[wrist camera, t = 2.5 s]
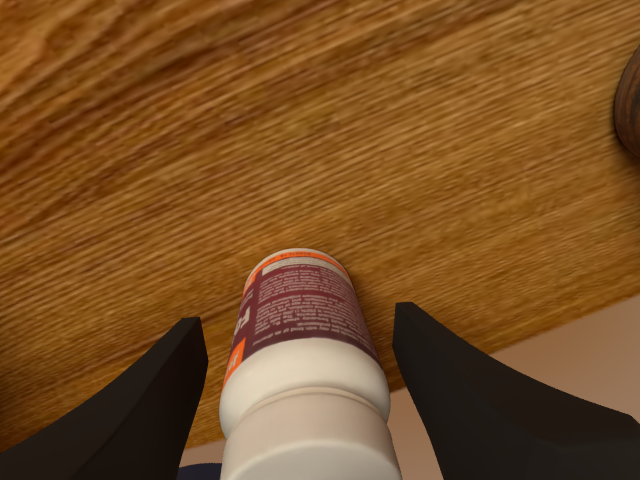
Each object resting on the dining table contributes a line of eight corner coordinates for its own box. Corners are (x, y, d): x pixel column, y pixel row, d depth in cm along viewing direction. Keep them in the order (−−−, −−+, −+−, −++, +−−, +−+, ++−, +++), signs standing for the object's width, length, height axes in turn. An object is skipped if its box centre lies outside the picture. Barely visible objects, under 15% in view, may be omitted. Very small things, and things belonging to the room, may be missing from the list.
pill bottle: (232, 255, 14) (162, 455, 6) (345, 236, 14) (420, 407, 6) (256, 345, 16) (228, 585, 8) (356, 328, 16) (423, 546, 8)
